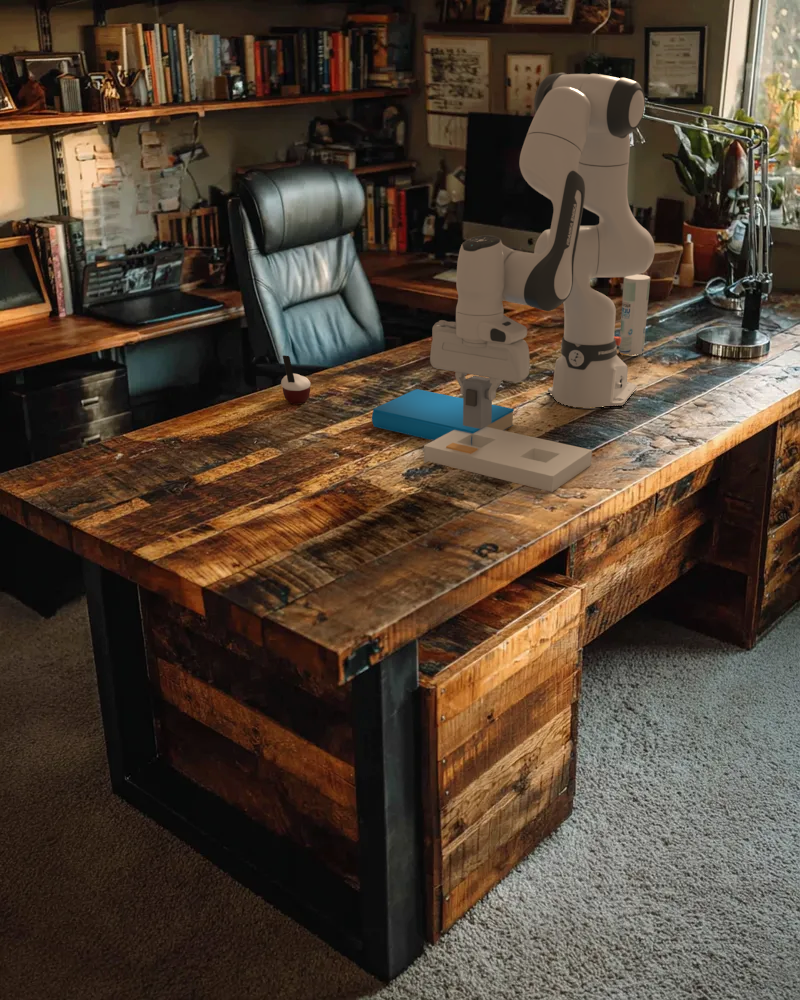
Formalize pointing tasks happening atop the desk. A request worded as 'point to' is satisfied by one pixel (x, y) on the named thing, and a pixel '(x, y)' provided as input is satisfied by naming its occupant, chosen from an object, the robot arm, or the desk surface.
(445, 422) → the book
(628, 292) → the spray can
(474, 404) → the plug
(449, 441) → the socket board
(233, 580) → the desk surface
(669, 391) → the desk surface
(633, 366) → the desk surface
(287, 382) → the cocoa
